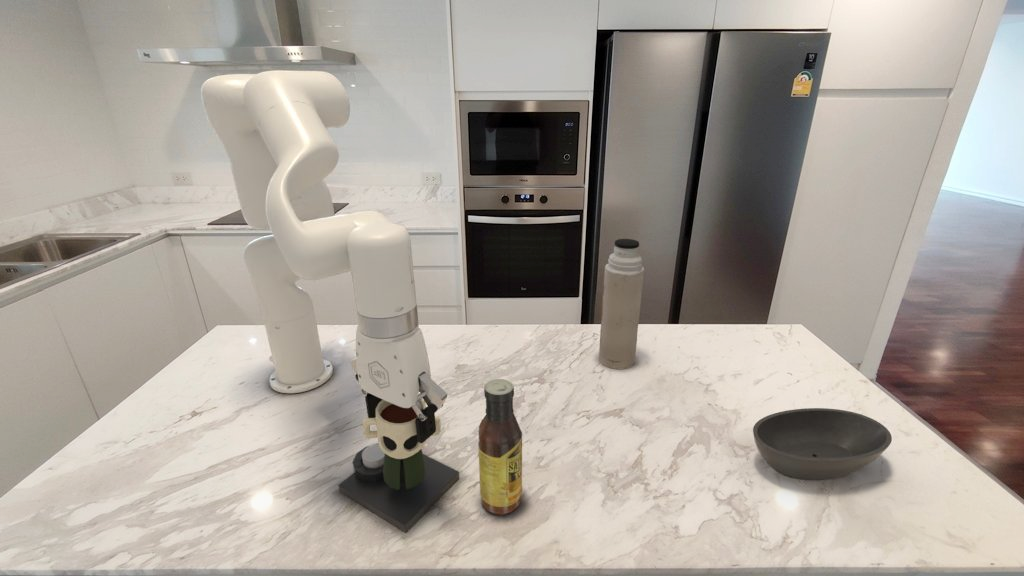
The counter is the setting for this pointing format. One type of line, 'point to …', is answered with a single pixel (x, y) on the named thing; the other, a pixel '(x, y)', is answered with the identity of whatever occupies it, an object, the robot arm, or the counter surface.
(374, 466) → the button
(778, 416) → the bowl
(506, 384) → the sauce bottle
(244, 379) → the counter surface
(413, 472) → the character mug
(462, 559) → the counter surface
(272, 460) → the counter surface
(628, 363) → the thermos bottle
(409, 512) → the scale
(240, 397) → the counter surface
